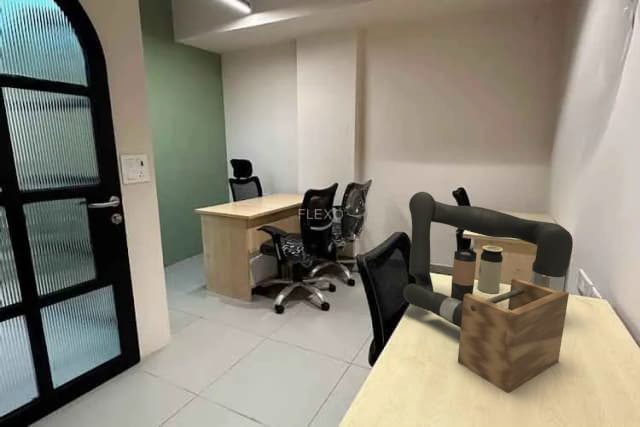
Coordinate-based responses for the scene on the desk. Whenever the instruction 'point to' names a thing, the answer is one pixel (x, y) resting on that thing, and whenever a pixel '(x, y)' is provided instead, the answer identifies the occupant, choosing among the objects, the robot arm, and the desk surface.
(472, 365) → the wooden crate with handle
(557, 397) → the desk surface
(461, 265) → the travel mug
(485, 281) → the travel mug
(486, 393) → the desk surface
